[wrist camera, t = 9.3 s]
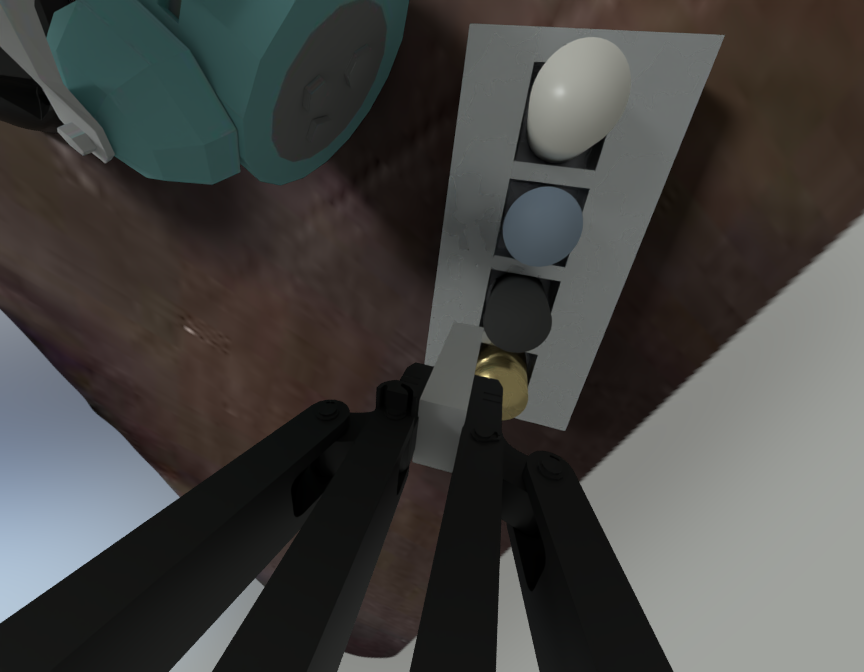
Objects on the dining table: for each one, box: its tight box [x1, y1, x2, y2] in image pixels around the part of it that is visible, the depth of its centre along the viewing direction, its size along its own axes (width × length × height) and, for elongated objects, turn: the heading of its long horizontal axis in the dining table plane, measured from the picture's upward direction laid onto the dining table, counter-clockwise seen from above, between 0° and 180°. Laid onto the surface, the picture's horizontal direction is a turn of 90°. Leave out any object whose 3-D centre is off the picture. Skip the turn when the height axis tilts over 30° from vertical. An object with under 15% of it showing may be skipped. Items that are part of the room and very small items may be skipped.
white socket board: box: [425, 24, 725, 431], centre depth 24 cm, size 13×26×4 cm, turn 173°
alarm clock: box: [0, 0, 409, 185], centre depth 16 cm, size 17×10×20 cm, turn 136°
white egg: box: [526, 37, 631, 163], centre depth 17 cm, size 4×4×6 cm
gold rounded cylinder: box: [474, 343, 528, 420], centre depth 26 cm, size 4×4×6 cm
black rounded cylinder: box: [483, 272, 552, 353], centre depth 23 cm, size 4×4×6 cm
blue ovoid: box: [503, 187, 583, 267], centre depth 21 cm, size 4×4×6 cm
